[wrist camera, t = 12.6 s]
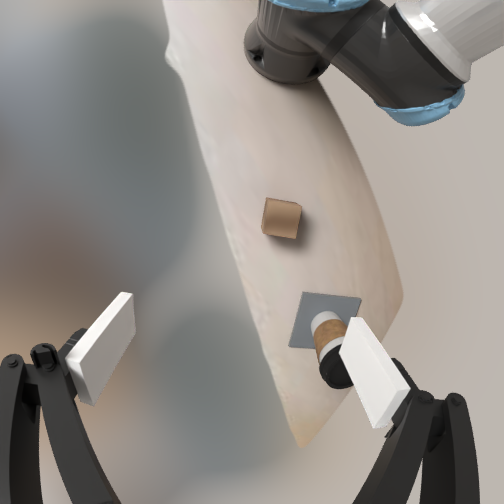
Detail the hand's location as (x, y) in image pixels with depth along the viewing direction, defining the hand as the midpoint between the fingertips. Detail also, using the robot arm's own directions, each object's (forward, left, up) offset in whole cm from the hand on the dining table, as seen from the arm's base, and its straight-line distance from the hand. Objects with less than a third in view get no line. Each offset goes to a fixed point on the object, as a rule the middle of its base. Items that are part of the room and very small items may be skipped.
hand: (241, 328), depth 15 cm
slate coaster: (+16, +19, -31) cm, 40 cm away
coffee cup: (+16, +19, -31) cm, 39 cm away
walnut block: (-3, +6, -31) cm, 32 cm away
